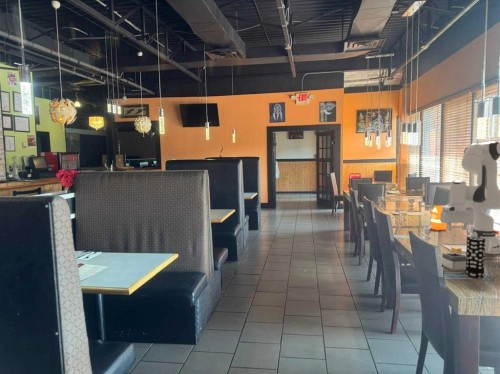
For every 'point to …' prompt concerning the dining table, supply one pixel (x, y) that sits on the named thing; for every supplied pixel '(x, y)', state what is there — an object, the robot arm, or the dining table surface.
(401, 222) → the dining table surface
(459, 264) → the bay
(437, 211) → the orange juice
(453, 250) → the plug
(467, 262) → the white-spotted black cylinder
